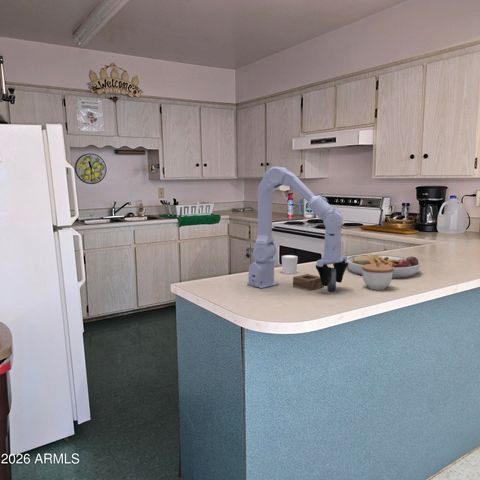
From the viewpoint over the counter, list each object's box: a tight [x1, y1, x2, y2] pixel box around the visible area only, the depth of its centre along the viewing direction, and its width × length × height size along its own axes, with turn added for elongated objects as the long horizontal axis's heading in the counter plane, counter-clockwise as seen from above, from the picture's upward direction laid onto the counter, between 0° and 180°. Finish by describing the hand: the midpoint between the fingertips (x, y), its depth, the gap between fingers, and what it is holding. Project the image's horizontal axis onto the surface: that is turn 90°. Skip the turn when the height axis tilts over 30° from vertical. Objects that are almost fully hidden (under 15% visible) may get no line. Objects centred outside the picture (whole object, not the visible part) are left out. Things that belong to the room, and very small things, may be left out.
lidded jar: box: [361, 262, 393, 291], centre depth 151 cm, size 11×11×9 cm
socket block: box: [292, 273, 325, 291], centre depth 153 cm, size 8×8×4 cm
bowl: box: [346, 253, 421, 279], centre depth 178 cm, size 30×30×8 cm
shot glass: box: [281, 254, 299, 275], centre depth 177 cm, size 7×7×7 cm
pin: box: [326, 267, 337, 293], centre depth 147 cm, size 3×3×8 cm
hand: (331, 283), depth 147 cm, fingers open, 7 cm apart
